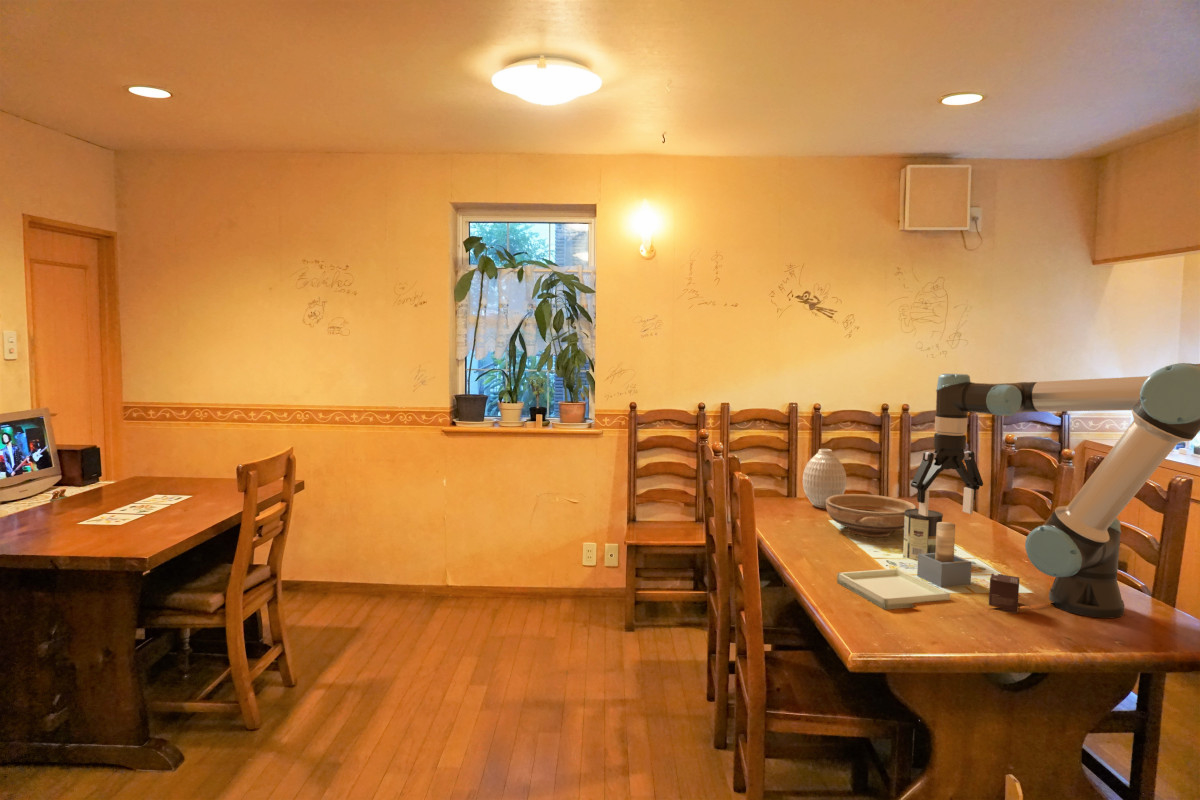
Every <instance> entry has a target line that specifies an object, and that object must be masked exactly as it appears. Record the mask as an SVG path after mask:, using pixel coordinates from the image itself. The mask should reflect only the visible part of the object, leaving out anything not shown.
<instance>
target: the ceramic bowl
mask: <svg viewBox="0 0 1200 800" xmlns="http://www.w3.org/2000/svg"><path fill="white" fill-rule="evenodd" d="M825 509H826V511H827V513H828V516H829V517H830V518H831V520H833V521H834V522H836V523H837V524H839V525H841V526H843V527H846V528H847V529H848V531H849V532H850V533H852V534H855V535H857V536H862V537H870V538H871V537H872V538H874V537H875V538H882V537H888V536H890V535H891V532H895V531H899V530H902V529H903V530H904V520H905V514H904V511H905V510H907V509H918V508H917V506H916V505H915V504H914V503H913V502H910V501H907V500H904V499H901V498H896V497H890V496H884V495H877V494H867V493H866V494H864V493H861V494H860V493H859V494H857V493H849V494H848V493H846V494H845V493H844V494H843V495H835V496H831V497H828V498H827V499H826V508H825Z"/></svg>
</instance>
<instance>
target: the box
mask: <svg viewBox="0 0 1200 800" xmlns="http://www.w3.org/2000/svg"><path fill="white" fill-rule="evenodd" d="M1019 591H1020V576H1013V575H1012V576H1011V575H1005V574H1000V573H991V575H990V579H989V591H988V593H989V595H988V605H989V606H991V608H990V610H994V611H999V612H1005V613H1010V614H1018V611H1019V610H1018V609H1019V597H1020V594H1019ZM994 607H995V608H994Z"/></svg>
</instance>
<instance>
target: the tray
mask: <svg viewBox="0 0 1200 800" xmlns="http://www.w3.org/2000/svg"><path fill="white" fill-rule="evenodd" d="M836 575H837V576H836V584H839V585H840V586H843V587H844V588H846V589H848V590H849V591H851V592H852V593H855V594H857V595H859V597H862V598H863V599H865V600H867V601H869V602H871V603H872V604H874V605H876V606H878V607H879V608H881V609H883V610H884V611H885V610H886V611H887V610H895V609H898V610H899V609H906V608H907V609H909V608H917V606H916V605H914V604H920V603H921V604H922V603H931V602H943V601H950V599H951V598H950V597H951V593H950V592H948V591H946V590H943V589H941V587H940V588H939V587H938V586H935V585H934V584H932V583H930V582H928V581H926V580H925V581H924V579H921V578H919V577H916V576H914V575H912V574H909V573H907V572H905V571H903V570H901V569H899V568H897V567H896V568H883V569H873V570H872V569H870V570H860V571H859V570H857V571H845V572H844V571H843V572H837V574H836Z"/></svg>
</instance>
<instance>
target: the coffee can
mask: <svg viewBox="0 0 1200 800" xmlns="http://www.w3.org/2000/svg"><path fill="white" fill-rule="evenodd" d="M918 512H919V508H917V509H907V510H905V511H904V514H905V520H904V528H903V549H902V550H903V552H902V558H905V559H906V558H907V559H909V560H913V561H917V562H918V554H925V553H935V551H936V529H937V522H943V518H944V515H943V513H942V512H940V511H938V510H937V511H936V510H931V509H928V516H923V515H920V514H918Z"/></svg>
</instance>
